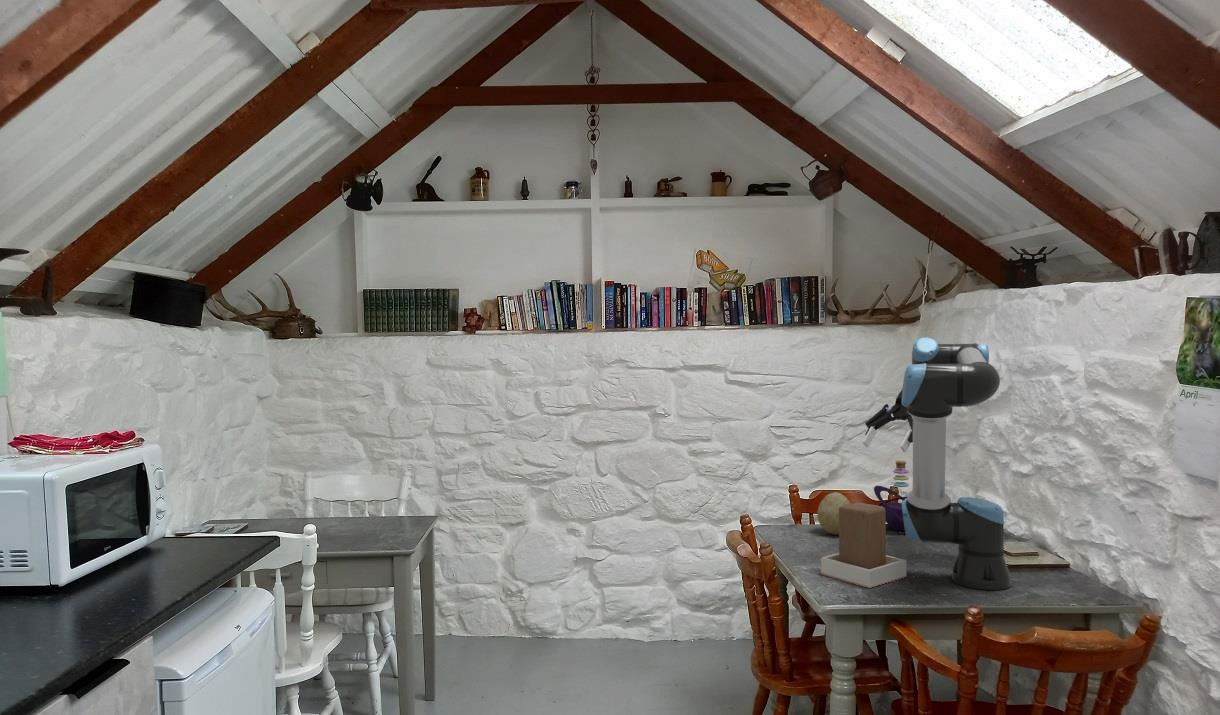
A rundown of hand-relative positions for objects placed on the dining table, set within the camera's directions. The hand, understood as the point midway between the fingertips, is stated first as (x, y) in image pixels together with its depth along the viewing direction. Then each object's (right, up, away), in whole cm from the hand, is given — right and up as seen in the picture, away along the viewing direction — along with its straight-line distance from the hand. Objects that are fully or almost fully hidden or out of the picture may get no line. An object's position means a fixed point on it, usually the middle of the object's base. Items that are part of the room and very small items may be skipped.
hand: (883, 447), depth 241 cm
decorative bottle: (+20, -35, +39) cm, 56 cm away
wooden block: (-11, -36, -15) cm, 40 cm away
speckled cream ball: (-5, -35, +33) cm, 49 cm away
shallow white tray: (-11, -36, -15) cm, 41 cm away
